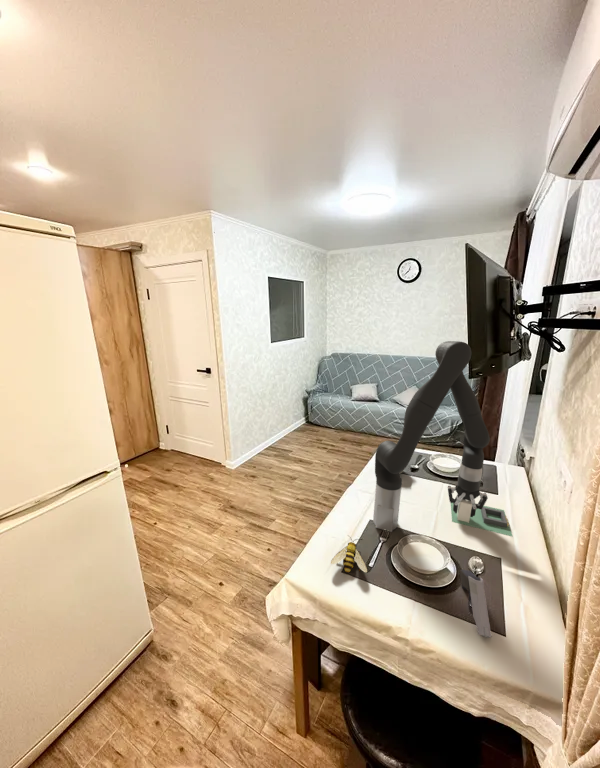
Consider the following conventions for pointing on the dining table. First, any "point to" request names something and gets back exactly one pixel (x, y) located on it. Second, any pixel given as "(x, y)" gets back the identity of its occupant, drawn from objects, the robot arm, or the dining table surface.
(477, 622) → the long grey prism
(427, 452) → the dining table surface
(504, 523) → the board
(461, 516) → the plug
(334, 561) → the insect
